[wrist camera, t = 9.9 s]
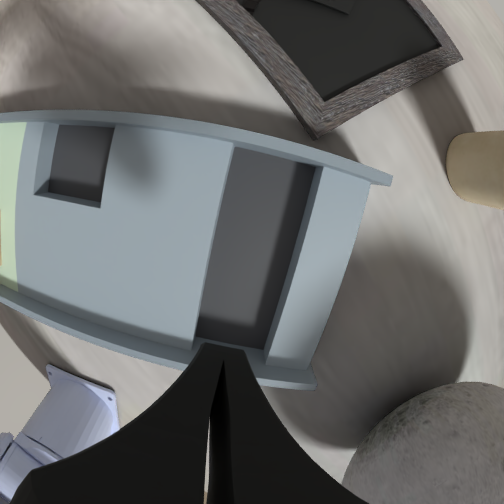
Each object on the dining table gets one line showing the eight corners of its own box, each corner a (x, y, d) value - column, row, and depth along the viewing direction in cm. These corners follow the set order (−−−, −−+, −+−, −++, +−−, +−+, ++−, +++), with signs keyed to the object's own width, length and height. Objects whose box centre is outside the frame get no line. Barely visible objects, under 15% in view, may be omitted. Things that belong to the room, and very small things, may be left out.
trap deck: (305, 360, 20) (314, 390, 17) (-14, 268, 17) (-36, 280, 14) (367, 174, 16) (393, 175, 13) (-6, 119, 14) (-32, 117, 10)
